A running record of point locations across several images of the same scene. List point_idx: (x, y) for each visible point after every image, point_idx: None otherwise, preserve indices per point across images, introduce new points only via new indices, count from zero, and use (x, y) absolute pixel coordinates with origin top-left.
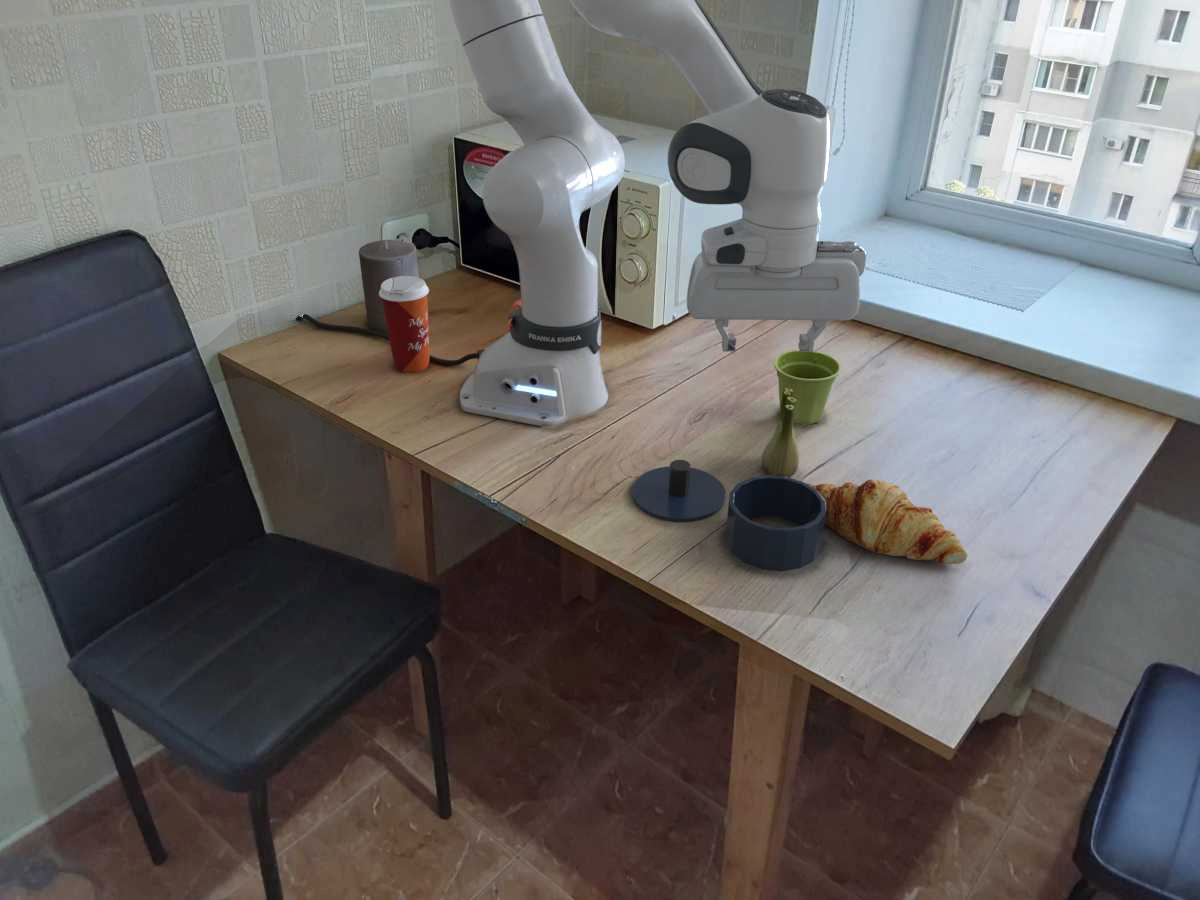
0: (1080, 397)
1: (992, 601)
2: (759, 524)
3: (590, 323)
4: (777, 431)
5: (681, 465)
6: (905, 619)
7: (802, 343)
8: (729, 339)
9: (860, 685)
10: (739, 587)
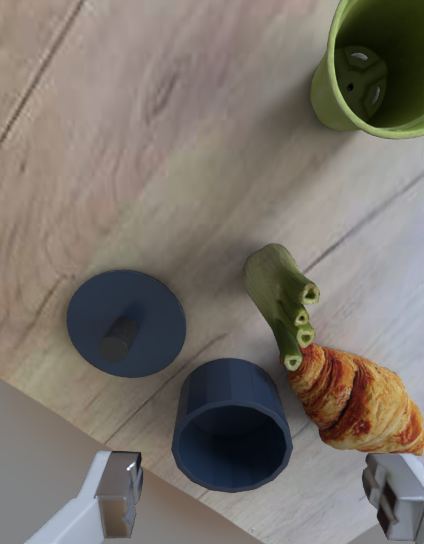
0: None
1: None
2: (203, 484)
3: None
4: (269, 296)
5: (114, 351)
6: (324, 485)
7: (381, 522)
8: (104, 538)
9: (263, 535)
10: None
